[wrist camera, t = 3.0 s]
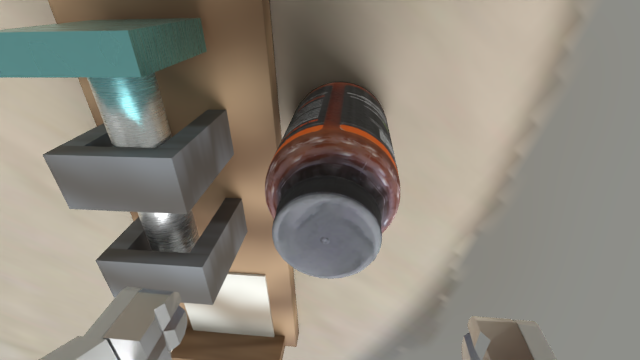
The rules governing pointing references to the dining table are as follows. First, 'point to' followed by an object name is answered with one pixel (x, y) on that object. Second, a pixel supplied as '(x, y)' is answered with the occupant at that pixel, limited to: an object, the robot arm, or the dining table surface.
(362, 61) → the dining table surface
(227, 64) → the rail
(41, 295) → the dining table surface
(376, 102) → the supplement bottle
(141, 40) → the shaft
